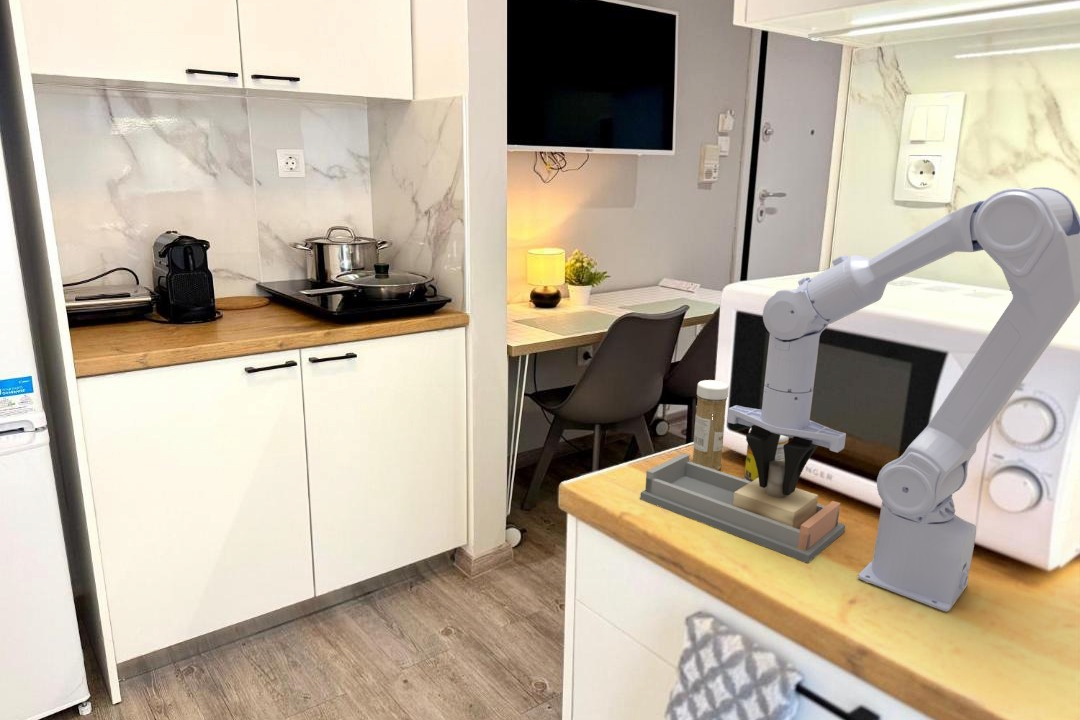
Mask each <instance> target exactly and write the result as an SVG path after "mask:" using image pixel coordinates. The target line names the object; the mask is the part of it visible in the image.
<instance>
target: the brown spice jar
mask: <svg viewBox="0 0 1080 720" xmlns="http://www.w3.org/2000/svg"><path fill="white" fill-rule="evenodd" d="M729 387H730V386H729V385H728V383H726V382H723V381H720V380H715V379H713V380H712V379H708V380H707V379H704V380H700V381H699V382H698V383H697V386H696V395H697V396H696V398H697V400H696V401H697V403H696V412H695V421H694V435H693V452H692V461H691V462H693V463H696V464H699V465H702V466H705V467H708V468H711V469H714V470H717V471H720V470H721V468H722V454H723V447H724V446H723V444H724V435H725V433H724V432H725V425H726V424H725V422H726V418H725V416H726V407H727V400H728V397H729V390H730V389H729ZM712 414H713V416H712ZM712 417H713V420H712Z"/></svg>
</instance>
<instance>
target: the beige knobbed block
mask: <svg viewBox="0 0 1080 720" xmlns="http://www.w3.org/2000/svg"><path fill="white" fill-rule="evenodd" d="M784 473H785V462H783V461H771V462H770V463H769V471H768V480H767V487H765V488H763V487H760V485H759V478H757V479H755V480H754V481H752V482H750V483H749V484H747V485H745V486H744V487H742V488H740V489H739V490H737V491H735V492H734V500H733V506H735V507H738V508H741V509H743V510H746V511H749V512H752V513H755V514H757V515H760V516H763V517H766V518H769V519H771V520H774V521H777V522H780V523H783V524H785V525H788V526H791V527H794V528H797V529H799V530H800V527H801V525H802V524H803V523H804V522H806V521H807V520H808V519H810V518H811V517H812V516H814V515H815V514H816V509H817V503H818V502H819V494H817V493H812V492H810V491H806V490H804V489H801V488H797V487H796V488H795V491H794V492H793V493H791V494H790V495H788V496H787V495H784V494H783V492H782V487H783V480H784Z"/></svg>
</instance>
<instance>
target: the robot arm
mask: <svg viewBox="0 0 1080 720" xmlns="http://www.w3.org/2000/svg"><path fill="white" fill-rule="evenodd" d="M979 251H980V252H981V251H985V253H986V254H988V256H989V257H990V258H991V259H992V261H994V262H995V263H996V264H997V265H998V266H999V267H1000V269H1001V270H1002V272H1003V275H1004V277H1005V280H1006V282H1007V284H1008V287H1009V290H1010V291H1011V295H1012V300H1010V303H1008V305H1007V306H1006V308H1005V310H1004V311H1003V313H1002V315H1000V317H999V318H998V320H997V321H996V323H995V324H994V326H993V328H992V329H991V330H990V332H989V333H988V335H987V337H986V338H985V340H984V341H983V343H982V344H981V346H980V347H979V349H978V350H977V351H976V353H975V354H974V356H973V357H972V358H971V361H969V363H968V365H967V366H966V368H965V369H964V371H963V372H962V374H961V375H960V377H958V379H957V381H956V383H955V384H954V386H953V387H952V389H951V390H950V391H949V393H948V394H947V396H946V398H945V399H944V400H943V402H942V403H941V404H940V407H938V409H937V411H936V412H935V414H934V415H933V417H932V418H931V419H930V421H929V423H928V424H927V426H926V427H924V429H923V430H922V431H921V432H920V433H919V434H918V435H917V436H916V437H915V439H913V440H912V442H911V443H910V444H909V445H908V446H907V448H906V449H905V451H904V452H903V453H902V454H901V456H899V457H898V458H896V459H894V460H891V461H889V462H888V463H886V464H884V466H882V468H881V469H880V470H879V473H878V475H877V478H876V490H877V493H878V495H879V497H880V499H881V507H880V514H879V519H878V526H877V533H876V539H875V543H874V551H873V557H872V558H873V559H872V560H871V561H870V562H869V563H868V564H866V566H865V567H864V568H863V569H862V570H861V571H860V572H859V573H858V575H857V578H858V579H859V580H861V581H864V582H867V583H869V584H871V585H875V586H877V587H880V588H882V589H885V590H887V591H890V592H893V593H895V594H898V595H901V596H904V597H905V598H909V599H911V600H914V601H916V602H918V603H919V602H920V603H921V604H924V605H927V606H929V607H932V608H935V609H937V610H940V611H943V612H949V611H950V610H951V609H952V608H953V606H954V604H955V603H956V602H957V600H958V599H959V598H960V596H961V595H962V593H963V592H964V590H965V589H966V588H967V586H968V584H969V581H968V579H969V578H968V577H969V574H970V568H971V562H972V559H973V554H974V553H973V552H974V547H975V542H976V537H977V526H976V524H974V523H971V522H970V521H967V520H965V519H963V518H961V517H960V516H958V515H957V514H956V509H955V504H954V499H953V494H955V493H956V492H958V491H960V490H961V488H963V487H964V485H965V483H966V481H967V479H968V478H967V477H968V467H969V462H970V460H971V459H972V458H973V456H974V455H975V453H976V451H977V445H978V443H979V442H980V440H981V439H982V438H983V437H984V435H985V433H986V432H987V430H988V429H989V428H990V427H991V425H992V424H993V422H994V421H995V420H996V419H997V417H998V415H999V414H1000V413H1001V412H1002V410H1003V409H1004V408H1005V405H1007V403H1008V401H1009V400H1010V398H1012V396H1013V395H1014V394H1015V392H1016V390H1017V389H1018V388H1019V387H1020V386H1021V384H1022V382H1023V381H1024V380H1025V378H1026V377H1027V376H1028V374H1029V373H1030V371H1031V370H1032V368H1033V367H1034V366H1035V364H1036V363H1037V361H1038V360H1039V359H1040V358H1041V356H1042V355H1043V354H1044V352H1045V351H1046V349H1047V348H1048V347H1049V345H1050V344H1051V342H1052V341H1053V339H1054V338H1055V337H1056V335H1057V334H1058V333H1059V331H1060V330H1061V328H1062V327H1063V325H1064V324H1065V323H1066V322H1067V320H1068V319H1069V318H1070V316H1071V315H1072V313H1073V312H1074V310H1076V309H1077V307H1078V306H1079V304H1080V214H1079V212H1078V211H1077V208H1076V207H1075V204H1074V203H1073V201H1072V200H1071V198H1070V197H1069V196H1068V195H1066V194H1065V193H1064V192H1062V191H1060V190H1059V189H1055V188H1052V187H1045V186H1040V187H1033V188H1028V189H1027V188H1024V187H1012V188H1011V187H1010V188H1006V189H1002V190H1000V191H997V192H996V193H993V194H992V195H990V196H988V198H986V199H985V200H978V201H975V202H973V203H969V204H967V205H965V206H962V207H961V208H959V209H956V210H954V211H952V212H950V213H947V214H946V215H945V216H943V217H941V218H939V219H937V220H936V221H934V222H932V223H930V224H929V225H927V226H925V227H923V228H922V229H920V230H919V231H917V232H915V233H913V234H912V235H909V236H908V237H906V238H905V239H903V240H901V241H900V242H897V243H896V244H894V245H893V246H891V247H889V248H888V249H886V250H883V251H882V252H880V253H879V254H877V255H875V256H874V257H872V258H870V257H866V256H863V255H861V254H854V255H853V254H852V255H851V256H850V257H849V255H847V254H846V255H844V254H843V255H840V256H838V257H836V258H835V259H833V260H832V261H831V263H832V264H833V266H832V267H829V268H827V269H825V270H824V271H822V272H820V273H818V274H817V275H815V276H813V277H810V276H805V277H802V278H801V279H799V280H798V281H797V283H798V287H797V288H796V289H782V290H778V291H776V292H775V293H774V295H772V296H770V297H769V298H768V299H767V300H766V302H765V304H764V307H763V310H762V311H763V312H762V320H763V324H764V327H765V328H766V330H767V331H768V333H769V339H768V348H767V356H766V367H765V376H764V386H763V395H762V405H761V408H760V409H758V408H752V407H745V406H742V405H737V404H736V405H733V406H731V407H729V408H728V412H727V420H726V422H727V423H729V424H733V425H735V424H736V425H737V424H739V425H743V426H746V427H750V428H751V430H750V429H749V430H750V433H749V432H748V433H746V436H745V440H746V442H747V445H748V444H749V446H750V448H751V451H752V453H753V456H754V459H755V462H756V466H757V471H758V477H759V485H760V487H763V488H765V487H767V480H768V471H769V463H770V462H771V461H775V455H776V451H777V446H778V442H779V439H780V435H783V436H786V437H789V439H792V440H790V441H788V443H786V444H784V447H783V449H784V457H785V473H784V480H783V487H782V492H783V494H784V495H787V496H788V495H790V494H791V493H793V492H794V491H795V488H797V485H798V481H799V480H800V477H801V475H802V472H803V470H804V469H805V467H806V465H807V463H808V461H809V460H810V458H811V457H812V456H813V454H814V452H815V451H816V450H817V449H818V447H819V446H820V447H824V448H826V449H829V451H831V452H834V453H839V452H841V451H843V450H844V449H845V444H846V436H847V433H846V432H843V431H842V432H841V431H838V430H835V429H833V428H831V427H828V426H825V425H823V424H820V423H818V422H816V421H813V420H811V411H812V405H813V404H812V403H813V396H814V385H815V379H816V378H815V377H816V370H817V361H818V354H819V344H820V336H821V334H822V332H823V331H825V330H826V328H827V327H828V326H829V325H831V324H833V323H836V322H838V321H839V320H841V319H844V318H845V317H848V316H851V314H853V313H856V312H858V311H860V310H863V309H864V308H866V307H868V306H871V305H872V304H874V303H877V302H879V301H880V300H881V299H882V298H883V296H884V292H885V289H886V287H887V285H888V284H889V283H891V282H892V281H895V280H897V279H899V278H901V277H903V276H905V275H908V274H910V273H912V272H915V271H917V270H919V269H922V268H923V267H925V266H927V265H930V264H931V263H934V262H936V261H938V260H940V259H943V258H945V257H947V256H949V255H952V254H953V253H956V252H957V253H974V252H979Z"/></svg>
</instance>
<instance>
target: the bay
mask: <svg viewBox="0 0 1080 720" xmlns="http://www.w3.org/2000/svg"><path fill="white" fill-rule="evenodd" d="M690 456H691V455H690V454H687V453H685V452H683V453H681V454H679V455H677V456H675V457H673V458H671V459H669V460H666V461H664V462H663V463H660V464H658V465H656V466H653V467H652V468H650V469H648V470H646V473H645V475H646V477H645V487H644V488H645V489H644V490H642V491H640V497H639V498H640V500H642V501H644V502H646V503H647V502H648V503H650V504H653V505H655V506H657V505H658V506H657V507H660V506H661V507H660V508H662V507H663V508H662V509H664V510H668V511H671V512H674V513H676V514H678V515H680V516H684V517H686V518H689V519H691V520H693V521H694V520H695V521H697V522H698V523H702V524H704V525H707V526H710V527H712V528H714V529H717V530H720V531H722V532H725V533H727V534H730V535H733V536H735V537H737V538H741V539H743V540H747V541H749V542H751V543H754V544H757V545H758V546H761V547H765V548H767V549H769V550H773V552H774V551H775V552H777V553H780V554H783V555H785V556H788V557H790V558H793V559H796V560H797V561H800V562H804V563H806V564H809V563H810V562H811V561H812V560H813V559H814V558H816V557H817V556H818V555H820V553H822V552H823V551H824V550H825V549H826V548H828V547H829V546H830V545H831V544H832V543H833V542H834V541H836V540H837V539H838V538H839V537H841V536H842V535H843V534H844V533H845V531H846V524H844V523H841V522H839V517H840V510H841V502H838V501H834V500H832V501H830V502H829V503H828V504H827V505H824V504H820V503H818V502H817V509H816V514H815V515H814V516H812V517H811V518H810V519H808V520H807V521H806V522H804V523H803V524H802V525H801V527H800V530H799V529H797V528H794V527H791V526H788V525H785V524H783V523H780V522H777V521H774V520H771V519H769V518H766V517H763V516H760V515H757V514H755V513H752V512H749V511H746V510H743V509H741V508H738V507H735V506H733V500H734V492H735V491H737V490H739V489H740V488H742V487H744V486H745V485H747V484H749V483H750V482H751V481H748V480H745V478H742V477H738V476H736V475H735V476H734V475H733V474H729V473H726V472H723V471H720V470H718V471H717V470H714V469H711V468H708V467H705V466H702V465H699V464H696V463H693V462H692V461H690Z"/></svg>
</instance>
